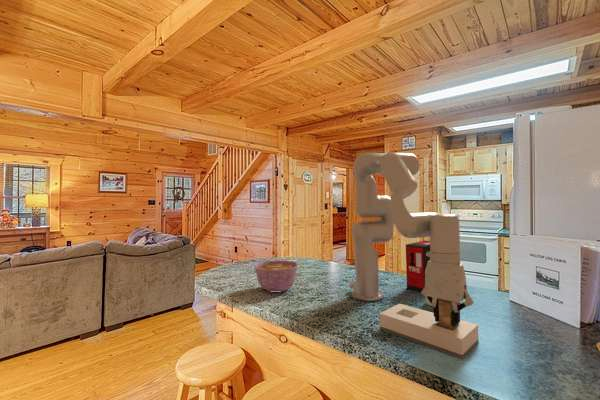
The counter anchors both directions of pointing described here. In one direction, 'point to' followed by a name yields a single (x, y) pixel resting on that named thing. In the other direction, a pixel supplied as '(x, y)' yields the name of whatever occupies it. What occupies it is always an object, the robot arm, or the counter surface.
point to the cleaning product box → (416, 264)
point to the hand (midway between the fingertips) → (446, 321)
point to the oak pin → (445, 314)
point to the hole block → (429, 330)
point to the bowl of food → (276, 274)
